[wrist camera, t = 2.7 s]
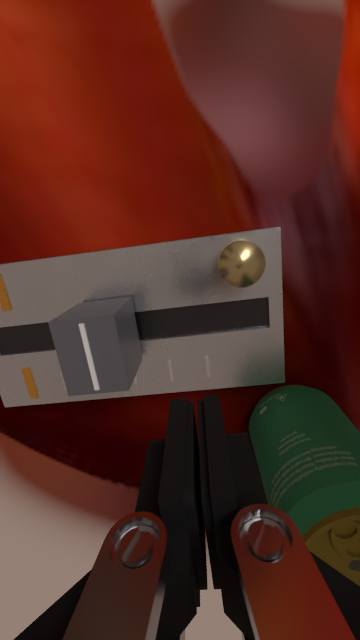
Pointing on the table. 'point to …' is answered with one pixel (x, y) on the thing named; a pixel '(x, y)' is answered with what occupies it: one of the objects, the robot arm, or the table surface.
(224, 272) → the console
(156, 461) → the robot arm
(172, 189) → the table surface
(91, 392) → the fader cap
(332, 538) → the beverage can
